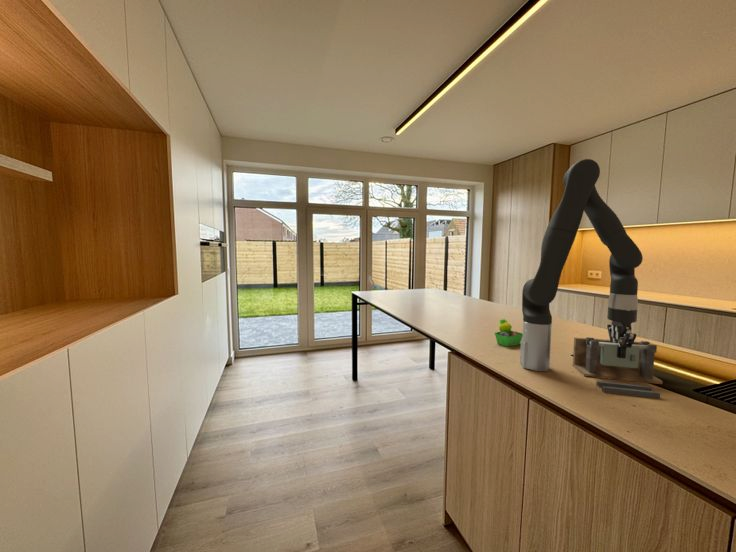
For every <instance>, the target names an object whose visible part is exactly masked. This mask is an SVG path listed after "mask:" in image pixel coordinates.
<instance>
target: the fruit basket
mask: <svg viewBox="0 0 736 552" xmlns="http://www.w3.org/2000/svg"><path fill="white" fill-rule="evenodd" d="M512 328H513V327H512V325H511V324H510V322H508V320H507V319H504V318H501V319H500V320H499V324H498V330H499V331H496V332H494V335H495V340H496V343H497V344H498V345H501V346H504V347H513V346H517V345H521V339H522V337H523V332H518V331H515V330H512Z"/></svg>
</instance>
